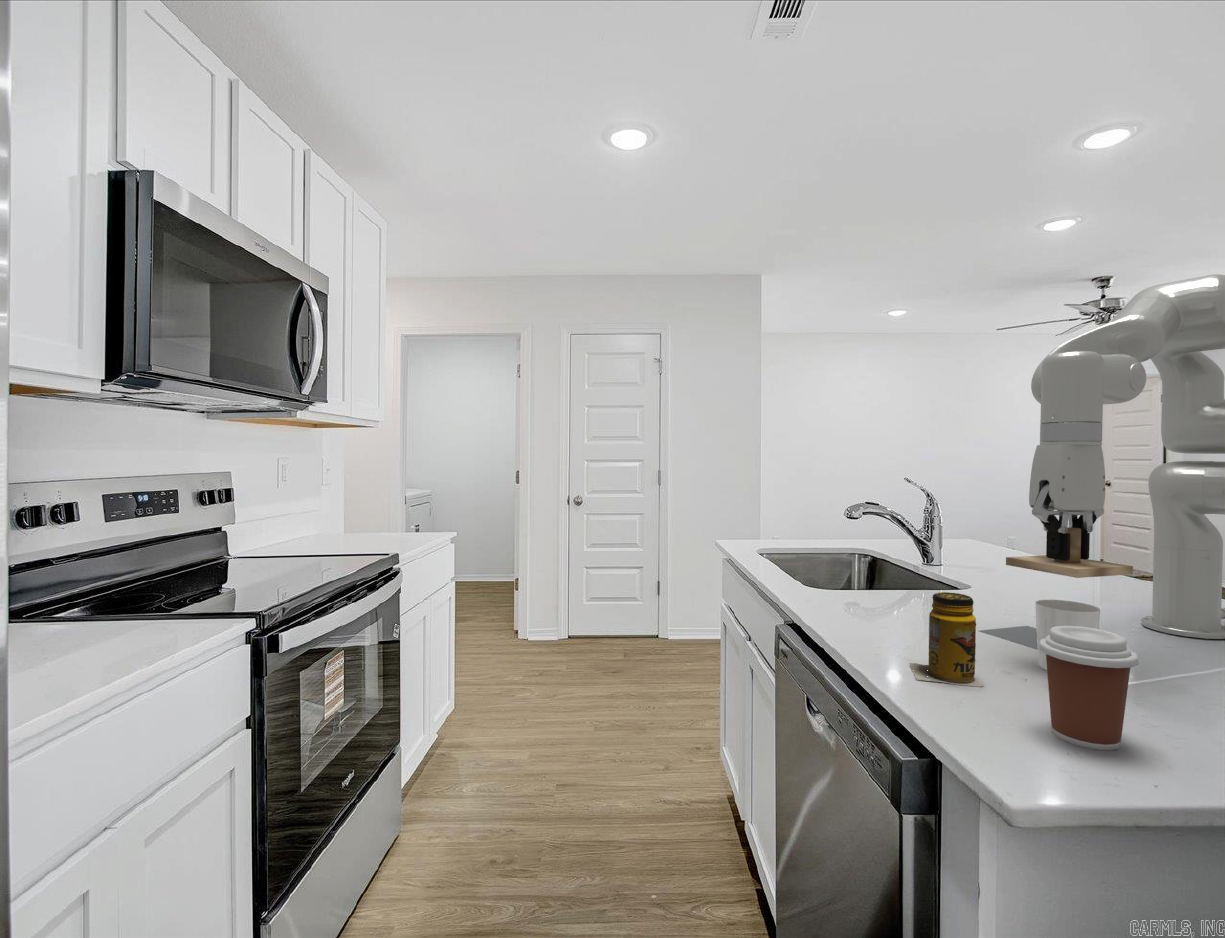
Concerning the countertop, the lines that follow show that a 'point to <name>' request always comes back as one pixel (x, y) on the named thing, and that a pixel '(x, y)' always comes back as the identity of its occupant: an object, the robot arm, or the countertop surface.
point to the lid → (1071, 562)
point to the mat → (1016, 635)
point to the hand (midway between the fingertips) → (1067, 557)
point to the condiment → (950, 641)
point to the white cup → (1062, 619)
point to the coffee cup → (1087, 685)
